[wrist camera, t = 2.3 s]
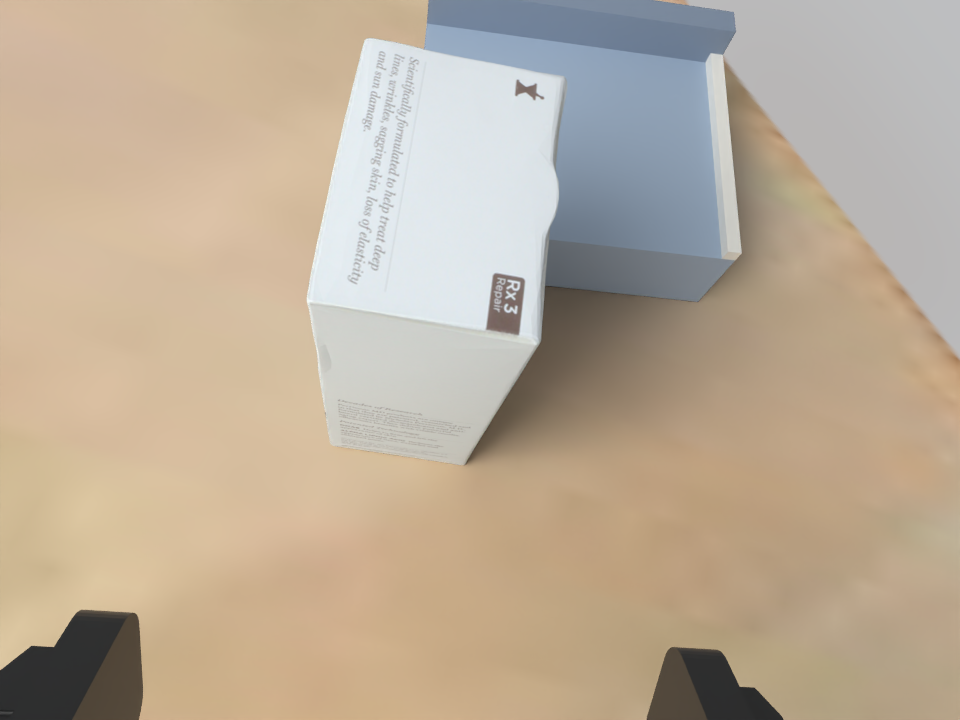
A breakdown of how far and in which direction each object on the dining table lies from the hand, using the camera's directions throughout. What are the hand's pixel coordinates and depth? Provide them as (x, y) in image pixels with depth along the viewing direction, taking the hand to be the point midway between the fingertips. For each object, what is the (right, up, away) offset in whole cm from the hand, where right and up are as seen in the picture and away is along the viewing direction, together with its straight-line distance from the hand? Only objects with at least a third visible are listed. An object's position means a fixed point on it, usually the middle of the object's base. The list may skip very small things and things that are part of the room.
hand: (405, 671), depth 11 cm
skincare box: (-2, +4, +21) cm, 21 cm away
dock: (+5, +14, +25) cm, 29 cm away
